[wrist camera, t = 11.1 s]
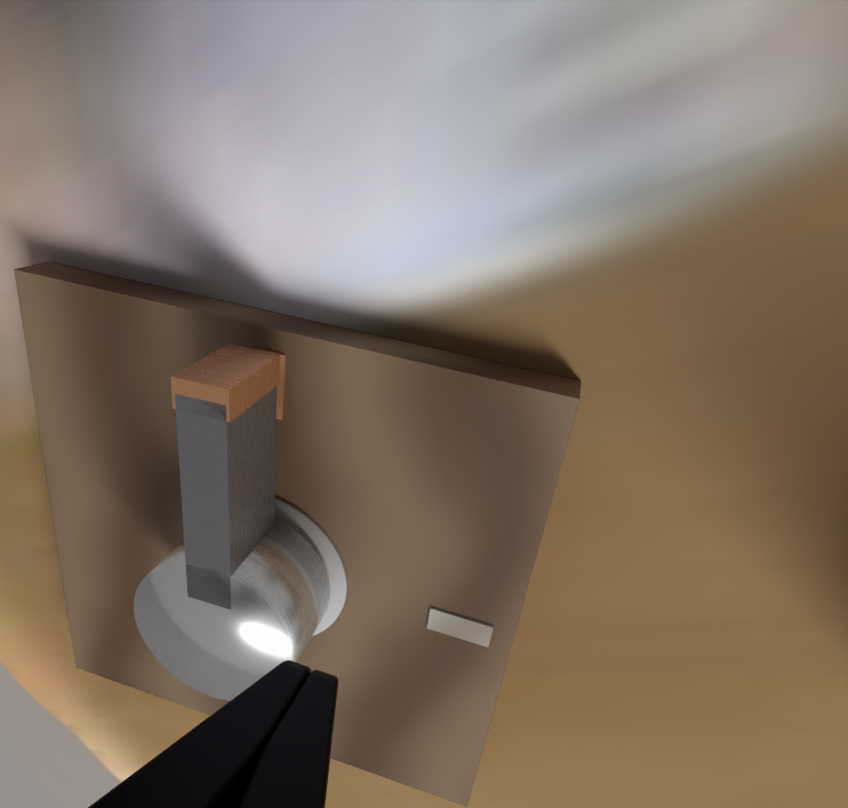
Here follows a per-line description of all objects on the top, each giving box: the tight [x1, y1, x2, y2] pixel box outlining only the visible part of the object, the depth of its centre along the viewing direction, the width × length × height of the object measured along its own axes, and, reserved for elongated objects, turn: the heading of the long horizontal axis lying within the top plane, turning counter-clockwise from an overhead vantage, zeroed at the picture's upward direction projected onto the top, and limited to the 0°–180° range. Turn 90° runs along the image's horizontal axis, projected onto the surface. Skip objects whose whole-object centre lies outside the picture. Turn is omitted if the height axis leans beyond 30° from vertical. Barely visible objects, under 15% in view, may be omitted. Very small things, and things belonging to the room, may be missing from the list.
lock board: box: [14, 262, 581, 807], centre depth 25 cm, size 20×20×2 cm
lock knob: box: [134, 344, 330, 701], centre depth 21 cm, size 12×6×3 cm, turn 173°
